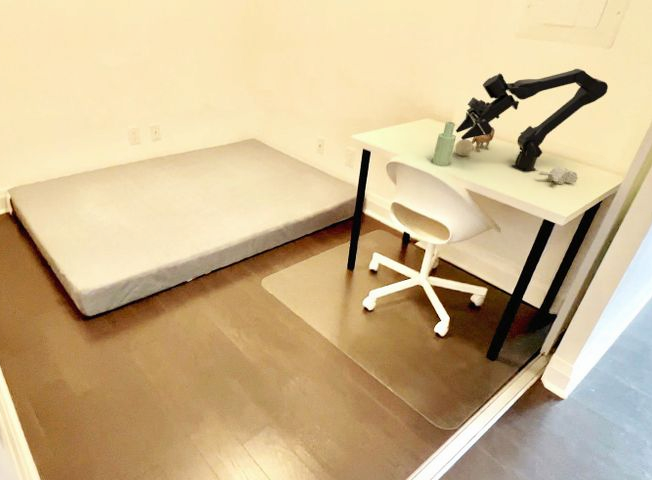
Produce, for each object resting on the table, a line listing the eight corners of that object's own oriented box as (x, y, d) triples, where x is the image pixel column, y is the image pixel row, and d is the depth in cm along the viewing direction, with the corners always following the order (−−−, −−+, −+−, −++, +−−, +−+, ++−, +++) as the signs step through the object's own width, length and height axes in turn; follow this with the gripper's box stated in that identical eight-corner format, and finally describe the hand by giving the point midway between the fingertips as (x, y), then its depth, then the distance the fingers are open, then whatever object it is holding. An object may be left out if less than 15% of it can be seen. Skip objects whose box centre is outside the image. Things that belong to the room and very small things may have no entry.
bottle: (452, 164, 175) (463, 124, 166) (439, 166, 173) (449, 126, 163) (441, 159, 180) (451, 120, 171) (428, 160, 177) (438, 121, 168)
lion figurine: (482, 144, 198) (487, 124, 193) (492, 147, 195) (499, 127, 189) (464, 150, 190) (470, 129, 185) (475, 154, 187) (481, 133, 182)
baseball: (474, 156, 184) (479, 141, 180) (462, 158, 181) (466, 143, 177) (462, 151, 189) (466, 136, 185) (450, 153, 186) (454, 138, 182)
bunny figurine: (586, 173, 160) (561, 174, 154) (579, 186, 163) (555, 187, 157) (563, 164, 167) (539, 165, 161) (557, 177, 170) (533, 178, 164)
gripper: (479, 85, 167) (443, 113, 174) (493, 96, 152) (453, 126, 159) (493, 108, 171) (457, 133, 178) (508, 120, 156) (468, 148, 163)
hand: (459, 135), depth 169 cm, fingers open, 9 cm apart
